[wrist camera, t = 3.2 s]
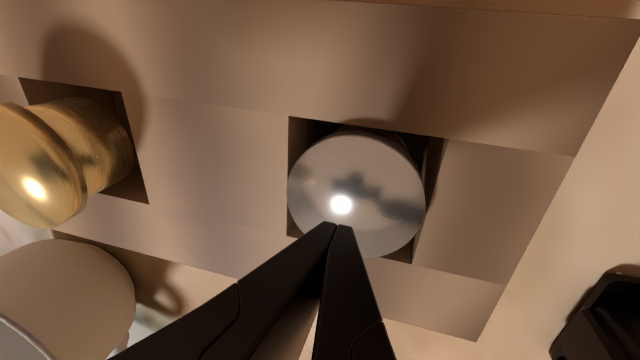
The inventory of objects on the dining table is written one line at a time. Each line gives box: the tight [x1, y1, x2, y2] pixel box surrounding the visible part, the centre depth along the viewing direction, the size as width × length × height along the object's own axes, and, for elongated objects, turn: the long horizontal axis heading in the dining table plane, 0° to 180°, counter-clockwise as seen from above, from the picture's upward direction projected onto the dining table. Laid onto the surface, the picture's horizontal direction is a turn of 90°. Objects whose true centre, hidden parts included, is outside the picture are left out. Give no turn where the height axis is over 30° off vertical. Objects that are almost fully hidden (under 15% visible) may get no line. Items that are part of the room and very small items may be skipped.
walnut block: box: [0, 0, 640, 342], centre depth 13 cm, size 24×12×4 cm, turn 85°
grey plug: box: [286, 124, 425, 258], centre depth 11 cm, size 5×5×3 cm
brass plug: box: [0, 97, 134, 229], centre depth 12 cm, size 5×5×3 cm
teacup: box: [0, 239, 136, 360], centre depth 22 cm, size 14×11×8 cm
